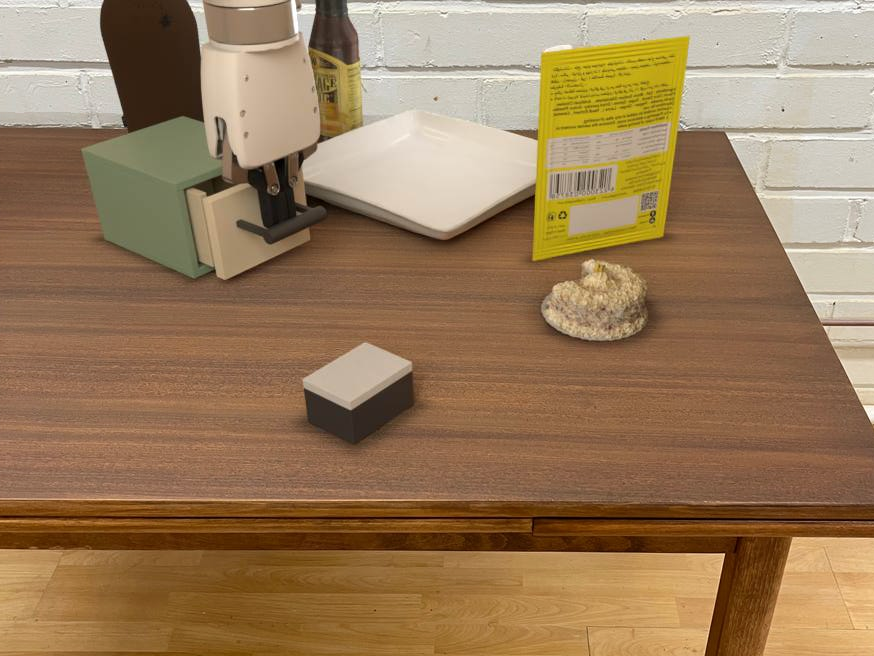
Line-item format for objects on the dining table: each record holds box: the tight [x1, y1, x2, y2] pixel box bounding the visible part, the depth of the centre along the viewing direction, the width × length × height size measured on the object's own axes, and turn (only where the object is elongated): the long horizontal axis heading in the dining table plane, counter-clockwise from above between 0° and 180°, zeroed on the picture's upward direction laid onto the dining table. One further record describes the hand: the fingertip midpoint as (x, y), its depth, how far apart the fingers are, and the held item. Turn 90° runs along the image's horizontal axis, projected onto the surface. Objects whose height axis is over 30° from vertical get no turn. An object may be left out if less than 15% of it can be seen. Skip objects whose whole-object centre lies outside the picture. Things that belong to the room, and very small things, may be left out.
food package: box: [531, 35, 691, 262], centre depth 93 cm, size 15×1×20 cm, turn 113°
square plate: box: [302, 108, 538, 241], centre depth 110 cm, size 27×27×4 cm
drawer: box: [183, 166, 328, 281], centre depth 94 cm, size 19×11×8 cm, turn 52°
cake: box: [540, 258, 650, 342], centre depth 87 cm, size 10×10×5 cm
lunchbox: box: [301, 341, 415, 446], centre depth 74 cm, size 7×5×4 cm
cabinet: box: [80, 116, 222, 280], centre depth 98 cm, size 15×13×10 cm
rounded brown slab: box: [99, 0, 204, 134], centre depth 110 cm, size 11×11×25 cm
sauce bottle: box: [307, 0, 364, 144], centre depth 117 cm, size 7×6×20 cm
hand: (280, 227), depth 91 cm, fingers closed
